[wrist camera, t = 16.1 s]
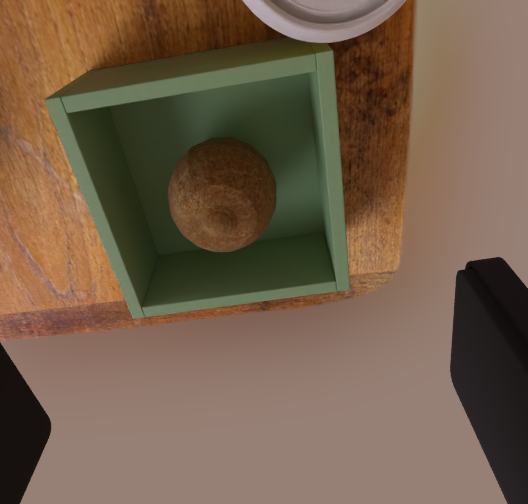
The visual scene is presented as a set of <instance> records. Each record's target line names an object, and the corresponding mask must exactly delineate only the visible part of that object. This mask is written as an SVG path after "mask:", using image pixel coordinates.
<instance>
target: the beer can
mask: <svg viewBox="0 0 528 504" xmlns="http://www.w3.org/2000/svg"><path fill="white" fill-rule="evenodd" d="M406 1H407V0H243V2H244V3H245V4H246V6H247V7H248V8H249V9H250V10H251V11H252V12H253V13H254V14H255V15H256V16H257V17H258V18H259V19H260V20H262V21H263V22H264V23H265V24H267V25H268V26H270V27H271V28H273V29H274V30H276V31H278V32H280V33H282V34H284V35H286V36H288V37H291V38H294V39H297V40H302V41H306V42H315V43H330V42H337V41H343V40H347V39H350V38H354V37H357V36H359V35H361V34H363V33H366V32H368V31H370V30H371V29H373V28H375V27H377V26H378V25H380V24H381V23H382V22H384V21H385V20H387V19H388V18H389V17H390V16H392V15H393V14H394V13H395V12H396V11H397V10H398V9H399V8H400V7H401V6H402V5H403V4H404V3H405V2H406Z"/></svg>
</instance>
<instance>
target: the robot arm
mask: <svg viewBox="0 0 528 504" xmlns="http://www.w3.org/2000/svg"><path fill="white" fill-rule="evenodd" d="M450 372H451V378H452V382H453V385H454V388H455V390H456V392H457V394H458V396H459V399H460V401H461V403H462V405H463V407H464V409H465V412H466V414H467V416H468V418H469V420H470V422H471V425H472V427H473V429H474V431H475V433H476V436H477V438H478V440H479V442H480V444H481V447H482V449H483V451H484V453H485V455H486V458H487V460H488V462H489V464H490V466H491V468H492V471H493V473H494V475H495V477H496V479H497V481H498V484H499V486H500V488H501V490H502V492H503V494H504V497H505V499H506V501H507V503H508V504H528V288H527V287H526V286H525V285H524V283H523V282H522V281H521V280H520V278H519V277H518V276H517V275H516V274H515V272H514V271H513V270H512V269H511V268H510V266H509V265H508V264H507V263H506V261H505V260H503V259H502V258H500V257H496V258H490V259H483V260H475V261H470V262H468V263H467V264H466V268H465V270H459V271H458V272H457V276H456V289H455V303H454V319H453V334H452V349H451V364H450ZM50 432H51V422H50V419H49V417H48V415H47V414H46V412H45V411H44V409H43V408H42V406H41V405H40V403H39V401H38V400H37V398H36V397H35V396H34V394H33V392H32V391H31V389H30V388H29V386H28V385H27V383H26V381H25V380H24V378H23V377H22V375H21V374H20V372H19V371H18V369H17V368H16V366H15V365H14V363H13V362H12V360H11V359H10V357H9V355H8V354H7V352H6V351H5V349H4V348H3V346H2V345H1V343H0V504H20V502H21V500H22V497H23V495H24V493H25V491H26V488H27V486H28V484H29V482H30V479H31V477H32V475H33V473H34V470H35V468H36V466H37V463H38V461H39V459H40V457H41V454H42V452H43V450H44V447H45V445H46V443H47V441H48V439H49V436H50Z"/></svg>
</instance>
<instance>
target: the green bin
mask: <svg viewBox="0 0 528 504" xmlns="http://www.w3.org/2000/svg"><path fill="white" fill-rule="evenodd" d="M45 103H46V105H47V107H48V110H49V112H50V115H51V117H52V120H53V122H54V125H55V127H56V130H57V132H58V135H59V137H60V140H61V142H62V145H63V147H64V149H65V152H66V154H67V157H68V159H69V162H70V164H71V167H72V169H73V172H74V174H75V177H76V179H77V182H78V184H79V187H80V189H81V191H82V194H83V196H84V199H85V201H86V204H87V206H88V209H89V211H90V214H91V216H92V219H93V221H94V224H95V226H96V229H97V231H98V233H99V236H100V238H101V241H102V243H103V246H104V248H105V251H106V253H107V256H108V258H109V261H110V263H111V266H112V268H113V271H114V273H115V275H116V278H117V280H118V283H119V285H120V288H121V290H122V293H123V295H124V298H125V300H126V303H127V305H128V308H129V310H130V313H131V315H132V318H133V319H135V318H143V317H149V316H156V315H164V314H171V313H179V312H186V311H193V310H201V309H208V308H216V307H223V306H230V305H238V304H245V303H253V302H260V301H267V300H275V299H282V298H290V297H297V296H304V295H312V294H319V293H327V292H334V291H343V290H350V279H349V265H348V251H347V237H346V223H345V208H344V194H343V180H342V166H341V152H340V137H339V123H338V109H337V95H336V81H335V67H334V52H333V50H332V49H331V47H330V46H329V45H328V44H327V43H315V42H306V41H302V40H297V39H294V38H291V37H283V38H277V39H271V40H266V41H260V42H254V43H248V44H243V45H237V46H231V47H225V48H220V49H214V50H208V51H202V52H197V53H191V54H185V55H179V56H174V57H168V58H162V59H156V60H151V61H145V62H139V63H133V64H128V65H122V66H116V67H110V68H105V69H99V70H93V71H88V72H86V73H85V74H83V75H82V76H80V77H79V78H77V79H75V80H74V81H72V82H71V83H69V84H68V85H66V86H65V87H63V88H62V89H60V90H59V91H57V92H55V93H54V94H52V95H51V96H49V97H48V98H46V99H45ZM221 137H232V138H235V139H237V140H240V141H243V142H245V143H248V144H250V145H251V146H252V147H253V148H254V149H256V150H257V151H258V152H259V153H260V154H261V155H262V156H263V157H264V158H265V159H266V160H267V162H268V164H269V166H270V168H271V171H272V173H273V175H274V177H275V180H276V209H275V211H274V214H273V216H272V218H271V220H270V223H269V225H268V227H267V229H266V230H265V232H264V233H262V234H261V235H260V236H259V237H258V238H257V239H256V240H255V241H254V242H253V243H251V244H250V245H248V246H246V247H243V248H240V249H238V250H235V251H233V252H213V251H210V250H207V249H203V248H200V247H198V246H197V245H195V244H194V243H193V242H191V241H190V240H189V239H187V238H186V237H185V236H184V235H183V234H182V233H181V231H180V230H179V228H178V227H177V225H176V223H175V222H174V220H173V218H172V216H171V212H170V206H169V199H168V187H169V183H170V180H171V176H172V173H173V170H174V167H175V165H176V164H177V162H178V161H179V160H180V159H181V158H182V157H183V155H184V154H185V153H186V152H187V151H188V150H189V149H190V148H191V147H192V146H194V145H197V144H199V143H201V142H203V141H206V140H208V139H210V138H221Z"/></svg>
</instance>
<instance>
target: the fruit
mask: <svg viewBox="0 0 528 504" xmlns="http://www.w3.org/2000/svg"><path fill="white" fill-rule="evenodd" d="M168 199H169V206H170V212H171V216H172V218H173V220H174V222H175V223H176V225H177V227H178V228H179V230H180V231H181V233H182V234H183V235H184V236H185V237H186V238H187V239H189V240H190V241H191V242H193V243H194V244H195V245H197V246H198V247H200V248H203V249H207V250H210V251H213V252H233V251H235V250H238V249H240V248H243V247H246V246H248V245H250V244H251V243H253V242H254V241H255V240H256V239H257V238H258V237H259V236H260V235H261V234H262V233H264V232H265V230H266V229H267V227H268V225H269V223H270V220H271V218H272V216H273V214H274V211H275V209H276V180H275V177H274V175H273V173H272V171H271V168H270V166H269V164H268V162H267V160H266V159H265V158H264V157H263V156H262V155H261V154H260V153H259V152H258V151H257V150H256V149H254V148H253V147H252V146H251V145H250V144H248V143H245V142H243V141H240V140H237V139H235V138H232V137H221V138H210V139H208V140H206V141H203V142H201V143H199V144H197V145H194V146H192V147H191V148H190V149H189V150H188V151H187V152H186V153H185V154H184V155H183V157H182V158H181V159H180V160H179V161H178V162H177V164H176V165H175V167H174V170H173V173H172V176H171V180H170V183H169V187H168Z"/></svg>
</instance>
